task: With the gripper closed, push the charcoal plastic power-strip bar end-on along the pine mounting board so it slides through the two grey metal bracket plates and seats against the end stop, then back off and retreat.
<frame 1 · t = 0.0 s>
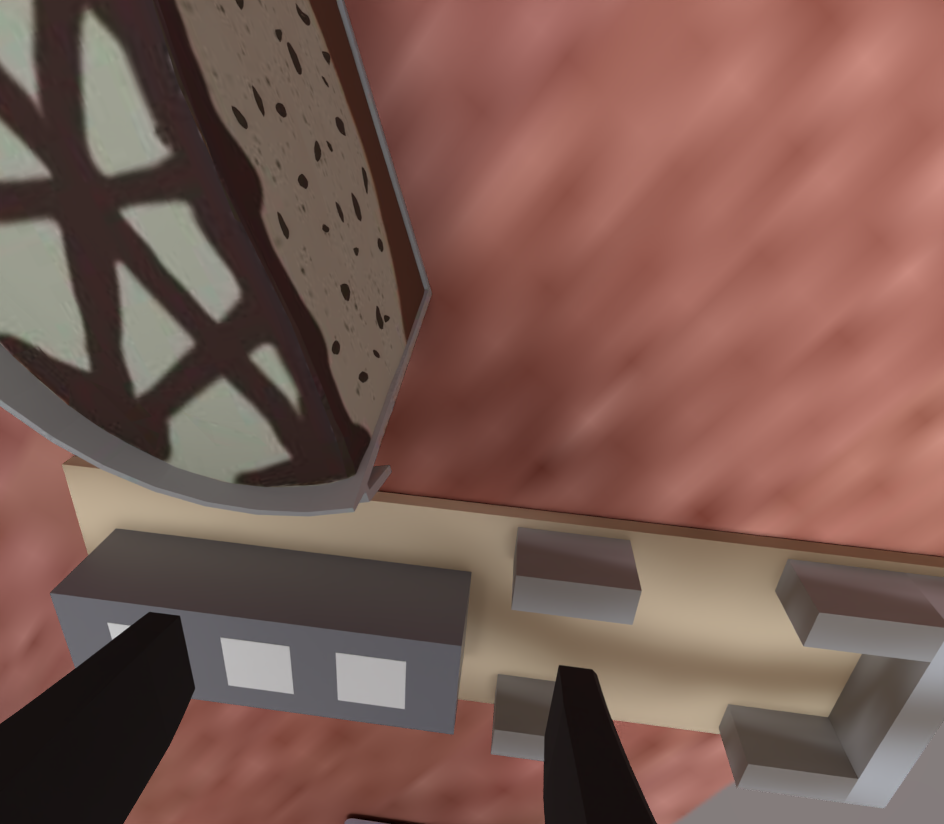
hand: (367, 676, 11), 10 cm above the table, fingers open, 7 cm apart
mount: (493, 607, 24), on the table
food container: (286, 162, 17), on the table
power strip: (294, 593, 23), point 1 cm above the table, touching mount
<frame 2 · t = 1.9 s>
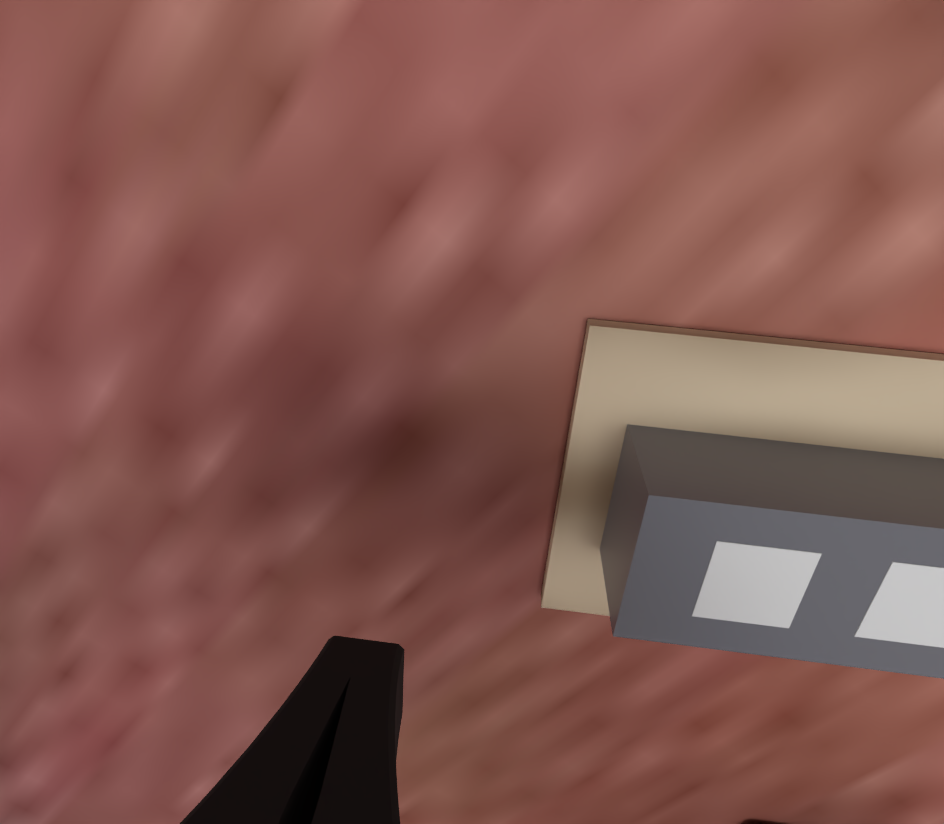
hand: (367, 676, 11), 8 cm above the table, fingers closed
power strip: (852, 517, 17), point 1 cm above the table, touching mount
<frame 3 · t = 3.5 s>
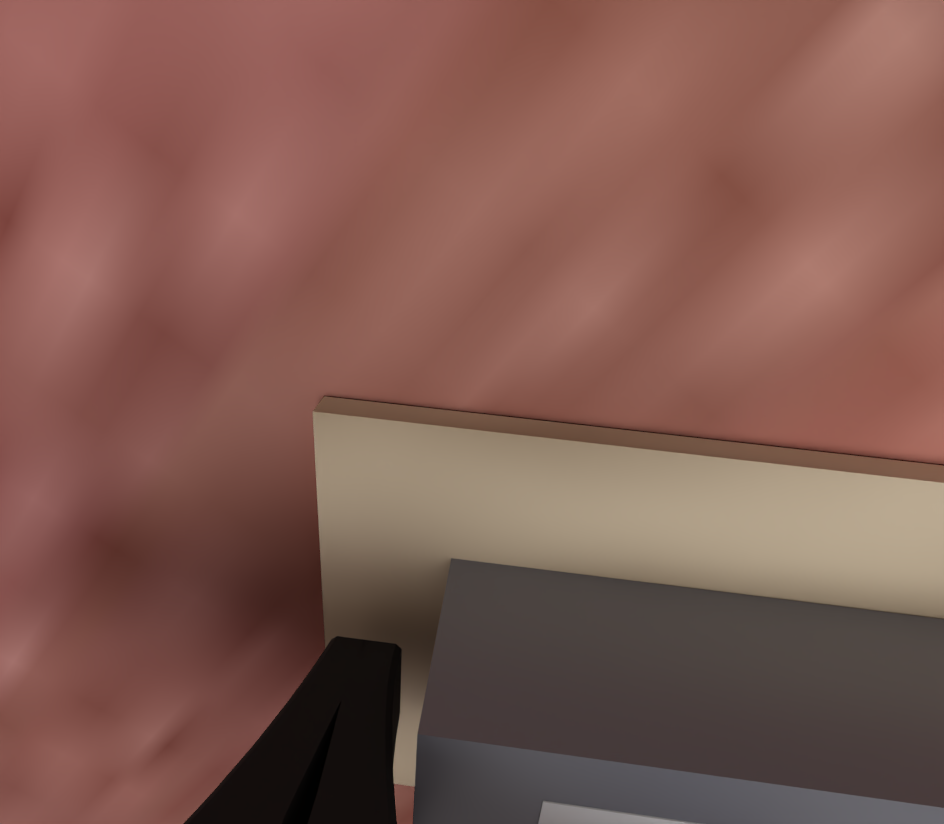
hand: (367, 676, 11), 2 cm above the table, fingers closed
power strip: (796, 690, 11), point 1 cm above the table, touching gripper
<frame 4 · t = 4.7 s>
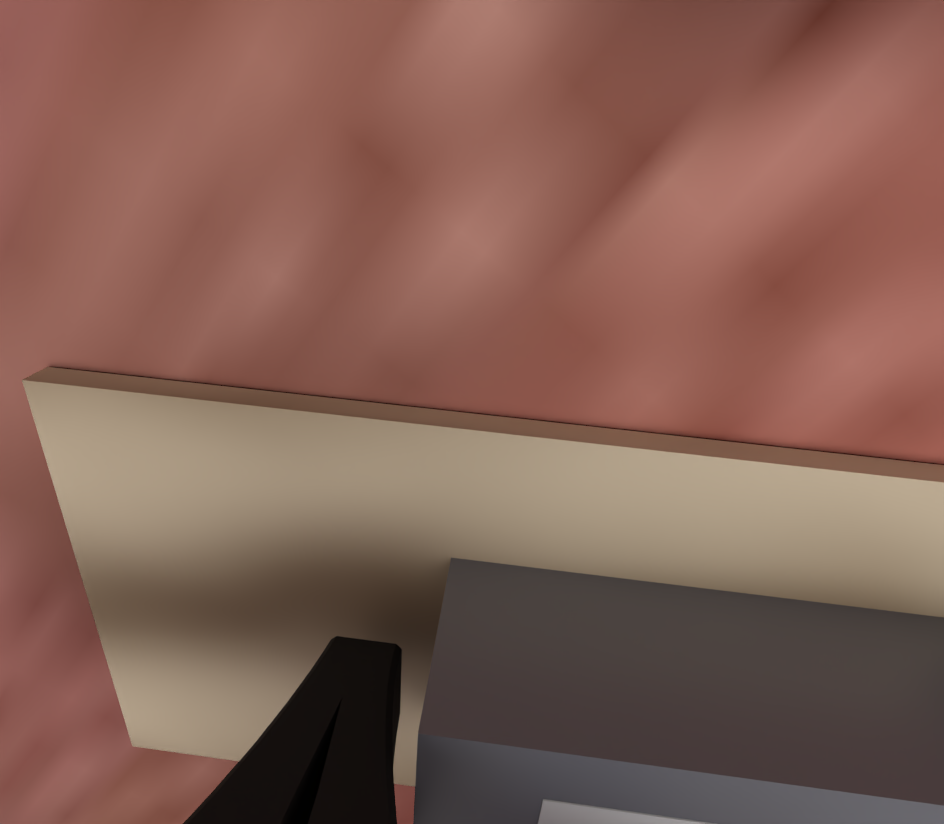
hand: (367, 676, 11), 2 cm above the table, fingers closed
mount: (877, 675, 12), on the table
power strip: (795, 688, 12), point 1 cm above the table, touching gripper, mount
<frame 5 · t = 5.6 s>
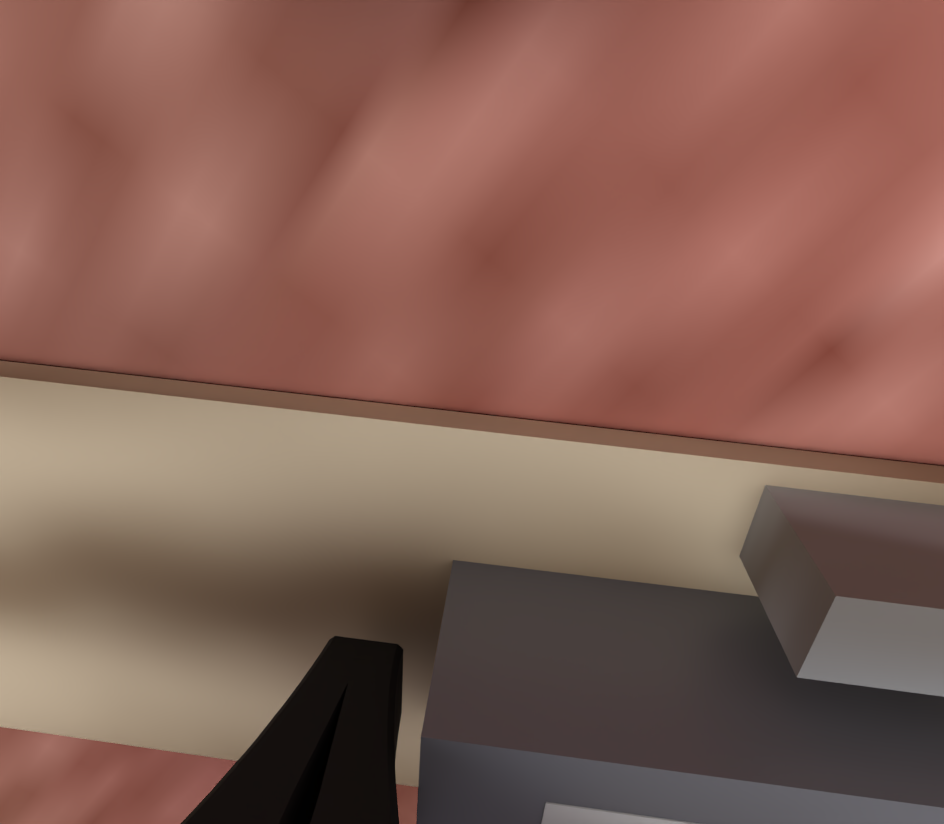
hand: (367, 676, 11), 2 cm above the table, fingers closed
mount: (663, 648, 12), on the table
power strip: (797, 689, 12), point 1 cm above the table, touching gripper, mount
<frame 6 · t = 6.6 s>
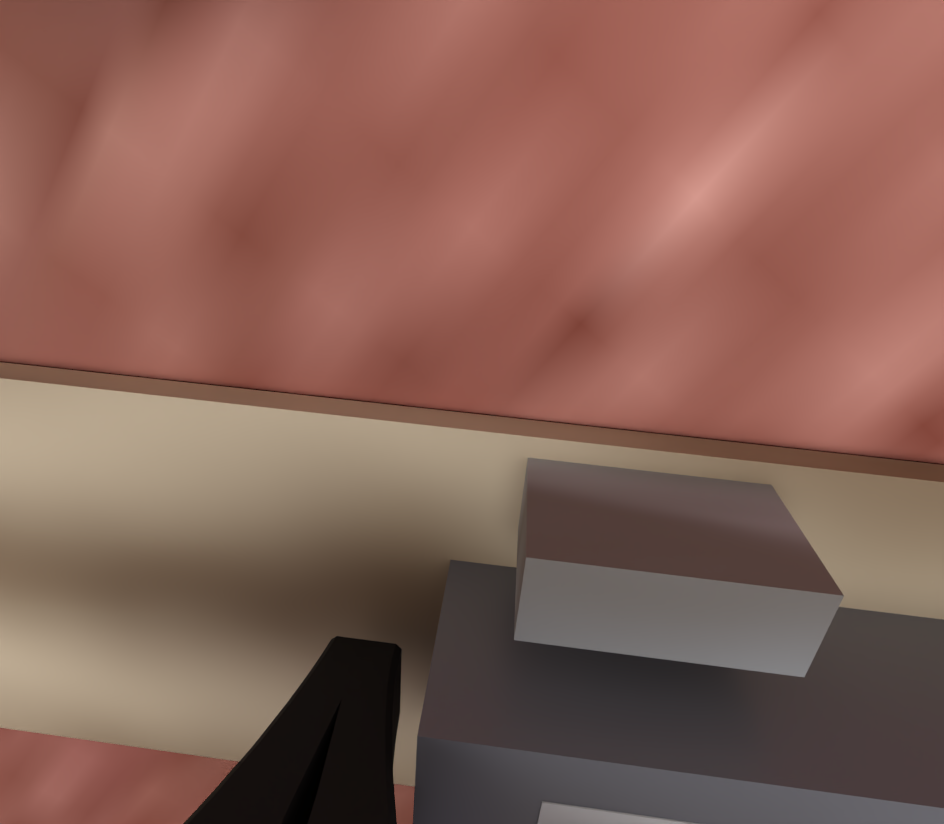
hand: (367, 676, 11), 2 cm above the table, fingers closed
mount: (479, 624, 12), on the table
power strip: (794, 689, 12), point 1 cm above the table, touching gripper, mount
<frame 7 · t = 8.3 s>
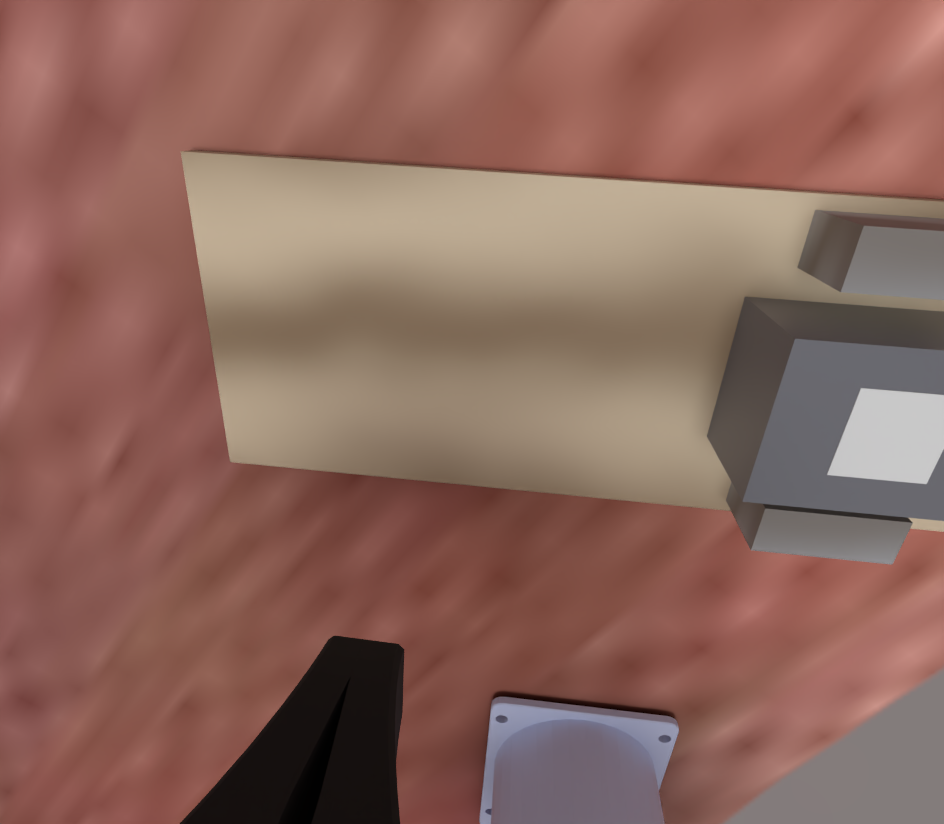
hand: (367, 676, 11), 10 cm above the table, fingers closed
mount: (741, 363, 18), on the table
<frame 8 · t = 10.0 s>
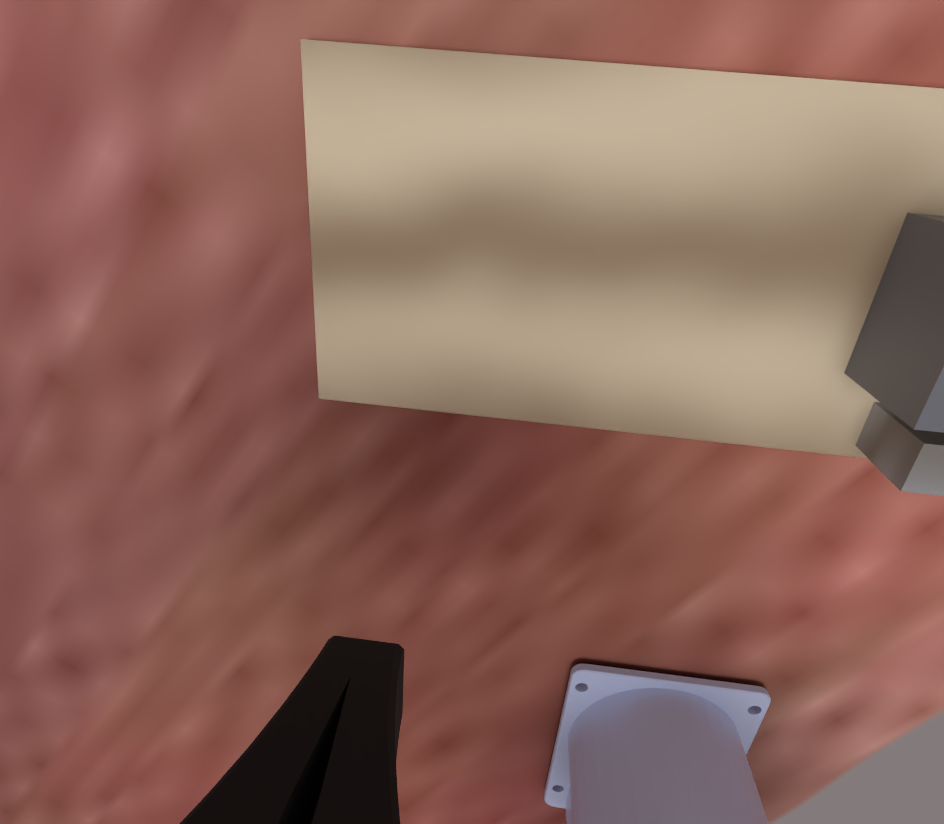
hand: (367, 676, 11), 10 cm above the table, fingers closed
mount: (887, 293, 17), on the table
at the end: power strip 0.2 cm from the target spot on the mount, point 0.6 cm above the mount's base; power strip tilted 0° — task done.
